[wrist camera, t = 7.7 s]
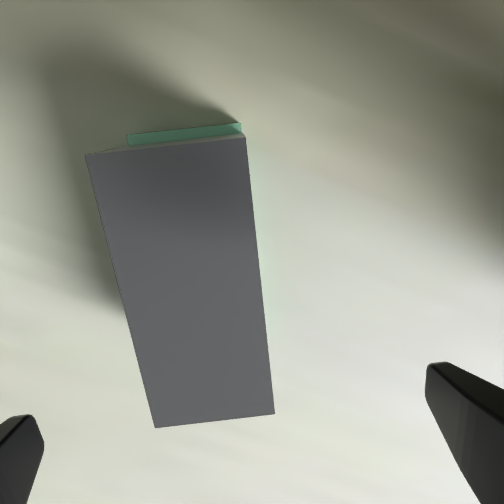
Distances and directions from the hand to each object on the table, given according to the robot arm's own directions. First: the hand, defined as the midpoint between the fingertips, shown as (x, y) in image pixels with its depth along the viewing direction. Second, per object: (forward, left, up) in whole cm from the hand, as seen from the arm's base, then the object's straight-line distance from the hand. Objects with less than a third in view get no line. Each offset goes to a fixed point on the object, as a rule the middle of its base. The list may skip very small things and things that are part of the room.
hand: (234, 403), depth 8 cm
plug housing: (+1, 0, -10) cm, 10 cm away
